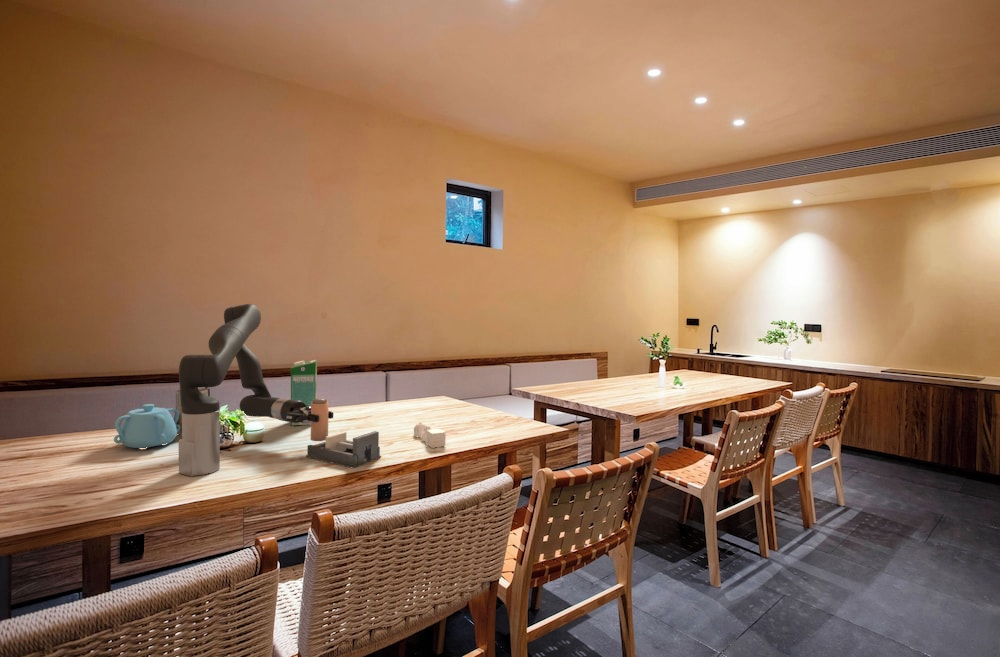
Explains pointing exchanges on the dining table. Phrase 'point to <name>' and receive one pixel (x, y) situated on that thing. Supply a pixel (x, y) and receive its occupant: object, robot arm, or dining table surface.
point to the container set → (430, 435)
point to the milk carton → (304, 384)
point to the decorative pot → (147, 427)
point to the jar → (319, 428)
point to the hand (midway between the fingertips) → (325, 417)
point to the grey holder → (349, 451)
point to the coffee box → (179, 407)
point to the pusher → (338, 442)
